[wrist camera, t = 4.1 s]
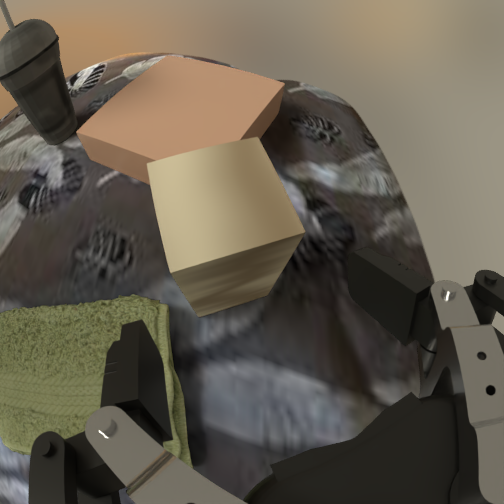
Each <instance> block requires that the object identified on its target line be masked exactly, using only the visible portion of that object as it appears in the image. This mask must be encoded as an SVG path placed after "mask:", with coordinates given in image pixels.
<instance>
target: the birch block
mask: <svg viewBox="0 0 504 504" xmlns="http://www.w3.org/2000/svg"><path fill="white" fill-rule="evenodd" d="M147 169H148V174H149V180H150V185H151V191H152V196H153V201H154V206H155V210H156V215H157V220H158V224H159V229H160V233H161V238H162V242H163V246H164V250H165V254H166V258H167V262H168V266H169V270H170V273H171V275H172V277H173V278H174V280H175V281H176V283H177V285H178V286H179V288H180V289H181V291H182V293H183V294H184V296H185V297H186V299H187V300H188V302H189V303H190V305H191V306H192V308H193V310H194V311H195V313H196V314H197V316H198V317H202V316H205V315H209V314H212V313H215V312H218V311H221V310H224V309H227V308H231V307H234V306H237V305H240V304H243V303H246V302H249V301H252V300H255V299H258V298H261V297H264V296H267V295H268V294H269V292H270V290H271V289H272V287H273V286H274V284H275V282H276V281H277V279H278V277H279V276H280V274H281V272H282V271H283V269H284V267H285V266H286V264H287V262H288V261H289V259H290V257H291V256H292V254H293V252H294V251H295V249H296V247H297V246H298V244H299V242H300V241H301V239H302V237H303V236H304V234H305V230H304V228H303V226H302V224H301V222H300V219H299V217H298V215H297V213H296V211H295V209H294V207H293V205H292V203H291V201H290V199H289V197H288V195H287V193H286V191H285V188H284V186H283V184H282V182H281V180H280V179H279V177H278V175H277V173H276V171H275V169H274V167H273V165H272V163H271V161H270V159H269V157H268V155H267V153H266V151H265V149H264V148H263V146H262V144H261V142H260V140H259V138H258V137H254V138H249V139H243V140H238V141H233V142H229V143H224V144H219V145H215V146H210V147H206V148H202V149H198V150H194V151H190V152H186V153H182V154H178V155H175V156H171V157H167V158H164V159H160V160H157V161H153V162H150V163H147Z"/></svg>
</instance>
